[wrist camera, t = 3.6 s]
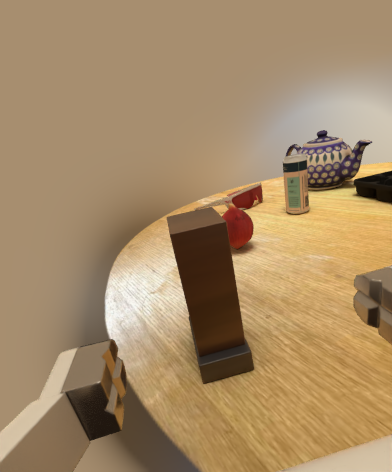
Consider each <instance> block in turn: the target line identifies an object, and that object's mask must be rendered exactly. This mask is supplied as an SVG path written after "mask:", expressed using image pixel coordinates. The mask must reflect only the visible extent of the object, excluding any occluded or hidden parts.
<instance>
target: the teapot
mask: <svg viewBox="0 0 392 472" xmlns="http://www.w3.org/2000/svg"><path fill="white" fill-rule="evenodd" d="M317 136H318V138H317V139H315V140H312V141H310V142H307V143H306V144H303V148H301V147H300V146H298V145H297V144H294V145H291V146H290V147H289V149H288V151H287V153H286V156H289V155H291V152H292V150H293V149H294V148H295V149H296V150H297V154H305V156H306V157H307V173H308V189H309V190H323V189H331V188H335V187H338V186H341V185H342V182H344V181H345V180H349V179H352V178H353V177H354V176H355V175H356V174H357V172H358V170H359V168H360V163H361V159H362V154H363V151H364V149H365V147H366V146H367V145H369V144H370V143H372V141H370V140H361V141H359V142H358V143H357V144H356V145H355V147H354V149H353V151H352V149H351V148H350V146H349V145H347V144H346V143H344V142H343V141H342V138H336V137H328V136H327V131H325V130H323V131H320V132H318V133H317Z"/></svg>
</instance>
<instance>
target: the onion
mask: <svg viewBox="0 0 392 472" xmlns="http://www.w3.org/2000/svg"><path fill="white" fill-rule="evenodd" d="M228 206H229V207H228V211H227V212H225V213H224V215H223V216H222V218H223V219H224V220H225V221H226V222H227V229H228V235H229V242H230V245H231V246H232V247H234V248H235V249H239V248H241V247H242V246H243V245H245V244H246V243H247V242H248V241H249V240H250V239H251V237H252V235H253V222H252V220H251V218H250V217H249V216H248V215H247V214H246V213H245V212H244V211H242V210H240V209H238V208H237V207H235V206H234V205H233V204H229V205H228Z"/></svg>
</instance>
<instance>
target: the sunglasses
mask: <svg viewBox="0 0 392 472" xmlns="http://www.w3.org/2000/svg"><path fill="white" fill-rule="evenodd" d="M232 195H233V196H232ZM227 196H228V197H225V198H223V199H220V200H217V201H215V202H212V203H209V204H206V205H203V206H200V207H197V208H195V210H199V209H202V208H206V207H212V206H218V205H224V204H225V205H226V207H227V208H228V207H229V206H228V205H229V204H233V205H234V206H235V207H237V208H238V209H240V210H243V209H247V208H250V207H252V206H253V203H254V200H258V203H260V202H261V201H262V200H263V196H262V187H261V183H258V184H255V185H252V186H249V187H247V188H244V189H241V190H238V191H236V192H233V193H231V194H228V195H227ZM219 202H220V203H219ZM215 203H216V204H215ZM227 204H228V205H227Z"/></svg>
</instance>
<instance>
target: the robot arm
mask: <svg viewBox="0 0 392 472" xmlns="http://www.w3.org/2000/svg"><path fill="white" fill-rule="evenodd" d="M354 287H355V288H356V289H357V290H358V291H357V293H356V295H355V296H354V308H355V311H356V313H357V315H358V316H359V317H360V319H361V320H362V321H363V322H365V323H366V324H367V325H369V326H372V327H375V328H378V332H379V335H381V336H382V337H383V338H384V339H385V340H387V341H388V342H389V343H390V344H392V265H391V266H387V267H384V268H382V269H379V270H375V271H371V272H367V273H364V274H360V275H356V277H355V279H354ZM117 353H118V347H117V345H116V343H115V341H114V340H113V339H111V340H106V341H102V342H98V343H94V344H90V345H85V346H81V347H78V348H74V349H70V350H66V351H63V352H62V353H60V354H59V356H58V359H57V361H56V363H55V365H54V367H53V369H52V371H51V373H50V376H49V378H48V380H47V382H46V384H45V386H44V389H43V391H42V393H41V395H40V397H39V399H38V400H36V401H33V402H31V403H30V404H29V405H28V406H27V407H26V408H25V409H24V410H23V411H22V412H21V413H20V414H19V415H18V416H17V417H16V418H15V419H14V420H13V421H12V422H11V423H10V424H8V425H7V426H6V427H5V428H4V429H3V430H2V431H1V432H0V472H73V471H74V469H75V468H76V466H77V464H78V462H79V461H80V459H81V458H82V456H83V454H84V453H85V451H86V449H87V448H88V446H89V444H90V441H91V440H94V439H97V438H100V437H103V436H106V435H109V434H113V433H116V432H119V431H121V430H122V423H123V413H124V405H123V402H122V400H121V399H122V398H123V396H124V395H125V393H126V387H127V379H126V371H125V366H124V363H123V361H122V360H121V359H120V358H118V357H117ZM277 472H392V434H391V435H388V436H385V437H382V438H378V439H375V440H372V441H369V442H366V443H363V444H360V445H357V446H354V447H351V448H348V449H344V450H341V451H338V452H335V453H332V454H329V455H326V456H323V457H320V458H317V459H314V460H311V461H307V462H304V463H301V464H298V465H295V466H292V467H289V468H286V469H283V470H280V471H277Z"/></svg>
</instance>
